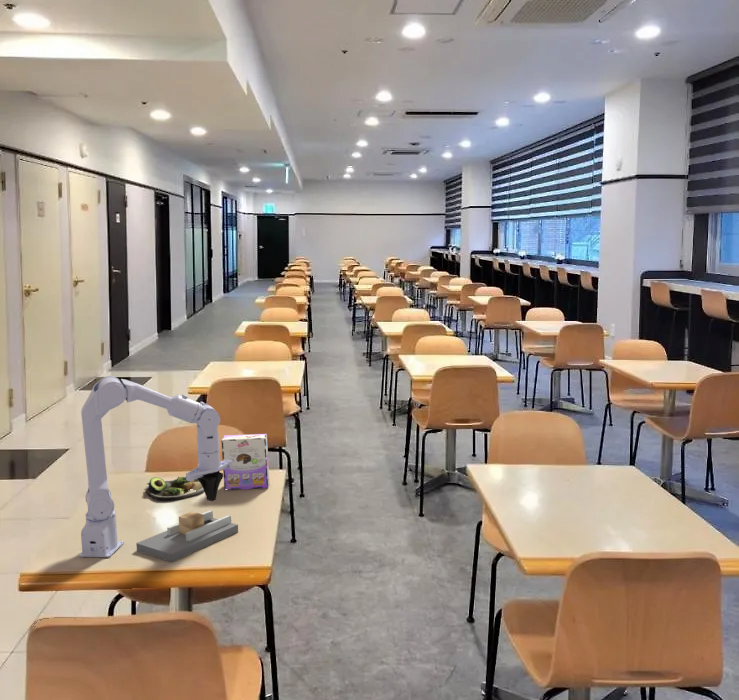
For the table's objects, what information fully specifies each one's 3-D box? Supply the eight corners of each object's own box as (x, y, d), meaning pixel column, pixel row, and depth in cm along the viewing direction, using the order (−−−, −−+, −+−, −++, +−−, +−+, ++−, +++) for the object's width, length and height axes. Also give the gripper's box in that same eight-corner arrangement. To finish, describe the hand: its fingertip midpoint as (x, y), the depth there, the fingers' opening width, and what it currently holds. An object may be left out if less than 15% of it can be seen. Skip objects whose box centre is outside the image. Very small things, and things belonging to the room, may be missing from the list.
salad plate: (196, 478, 261) (195, 464, 261) (220, 491, 247) (219, 477, 246) (138, 490, 250) (137, 476, 249) (160, 505, 236) (159, 490, 235)
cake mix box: (269, 483, 253) (267, 432, 251) (268, 489, 247) (265, 437, 245) (226, 484, 253) (223, 434, 250) (223, 490, 247) (220, 439, 244)
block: (192, 527, 211) (191, 511, 210) (204, 531, 208) (203, 514, 208) (179, 533, 207) (178, 516, 207) (191, 536, 205) (190, 519, 204)
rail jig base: (204, 522, 220) (203, 508, 219) (238, 531, 213) (237, 517, 212) (136, 550, 202) (135, 535, 201) (171, 561, 194) (170, 546, 194)
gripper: (218, 442, 219) (221, 489, 221) (177, 455, 207) (180, 505, 209) (236, 446, 215) (239, 494, 217) (195, 459, 203) (198, 510, 205)
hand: (211, 500), depth 213 cm, fingers closed
